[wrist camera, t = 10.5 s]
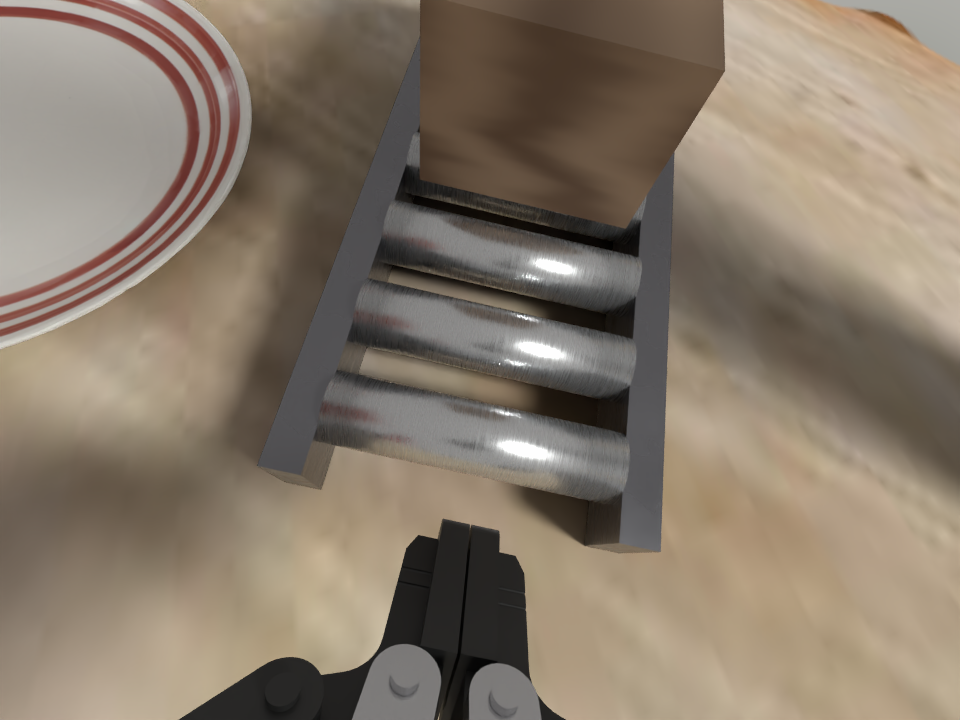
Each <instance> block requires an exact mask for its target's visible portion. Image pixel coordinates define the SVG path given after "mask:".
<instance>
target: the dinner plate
mask: <svg viewBox="0 0 960 720" xmlns="http://www.w3.org/2000/svg"><path fill="white" fill-rule="evenodd" d="M251 125H252V105H251V97H250V91H249V87H248V82H247V80H246V77H245V74H244V71H243V68H242V66H241V64H240V62H239V60H238V58H237V56H236V54H235V53H234V51H233V49H232V48H231V46H230V44H229V43H228V42H227V40H226V39H225V38H224V36H223V35H222V34H221V33H220V32H219V31H218V30H217V28H216V27H215V26H214V25H213V24H212V23H211V22H210V21H208V20H207V19H206V18H205V17H204V16H203V15H202V14H201V13H200V12H199V11H197V10H196V9H195V8H193V7H192V6H191V5H189V4H188V3H187V2H185V1H184V0H0V349H3V348H6V347H9V346H12V345H15V344H18V343H21V342H24V341H26V340H29V339H31V338H34V337H36V336H39V335H41V334H44V333H46V332H49V331H52V330H54V329H56V328H58V327H60V326H62V325H65V324H67V323H69V322H71V321H73V320H75V319H77V318H79V317H81V316H83V315H85V314H87V313H89V312H91V311H93V310H95V309H97V308H99V307H101V306H103V305H104V304H106V303H107V302H109V301H110V300H112V299H113V298H115V297H117V296H118V295H120V294H122V293H123V292H125V291H126V290H127V289H129V288H131V287H133V286H135V285H136V284H138V283H139V282H141V281H142V280H143V279H145V278H146V277H147V276H149V275H150V274H151V273H153V272H154V271H155V270H157V269H158V268H159V267H161V266H162V265H163V264H164V263H166V262H167V261H168V260H169V259H170V258H171V257H173V256H174V255H175V254H176V253H177V252H179V251H180V250H181V249H182V248H183V247H184V246H185V245H186V244H188V243H189V242H190V241H191V240H192V238H194V236H195V235H196V234H197V233H198V232H200V231H201V229H202V228H203V227H204V226H205V225H206V224H207V222H208V221H209V220H210V218H211V217H212V216H213V215H214V214H215V212H216V211H217V210H218V209H219V207H220V206H221V205H222V203H223V202H224V201H225V199H226V197H227V196H228V194H229V192H230V191H231V189H232V187H233V185H234V183H235V181H236V179H237V177H238V174H239V172H240V170H241V168H242V164H243V161H244V158H245V156H246V153H247V150H248V145H249V141H250V135H251Z"/></svg>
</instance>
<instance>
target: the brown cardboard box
mask: <svg viewBox="0 0 960 720" xmlns="http://www.w3.org/2000/svg"><path fill="white" fill-rule="evenodd" d="M724 72H725V52H724V14H723V0H420V180H423V181H427V182H432V183H436V184H440V185H444V186H448V187H453V188H457V189H461V190H465V191H469V192H474V193H478V194H482V195H486V196H490V197H495V198H499V199H503V200H507V201H511V202H516V203H520V204H524V205H528V206H532V207H537V208H541V209H545V210H549V211H553V212H558V213H562V214H566V215H570V216H574V217H579V218H583V219H587V220H591V221H595V222H600V223H604V224H608V225H612V226H616V227H621V228H625V229H626V227H627V226H628V224H629V222H630V221H631V219H632V218H633V216H634V215H635V213H636V211H637V210H638V208H639V207H640V205H641V203H642V202H643V200H644V199H645V197H646V195H647V194H648V192H649V191H650V189H651V188H652V186H653V184H654V183H655V181H656V180H657V178H658V176H659V175H660V173H661V172H662V170H663V168H664V167H665V165H666V164H667V162H668V161H669V159H670V157H671V156H672V154H673V153H674V151H675V149H676V148H677V146H678V145H679V143H680V142H681V140H682V138H683V137H684V135H685V134H686V132H687V130H688V129H689V127H690V126H691V124H692V122H693V121H694V119H695V118H696V116H697V115H698V113H699V111H700V110H701V108H702V107H703V105H704V103H705V102H706V100H707V99H708V97H709V95H710V94H711V92H712V91H713V89H714V88H715V86H716V84H717V83H718V81H719V80H720V78H721V76H722V75H723V73H724Z"/></svg>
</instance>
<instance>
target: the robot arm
mask: <svg viewBox="0 0 960 720" xmlns="http://www.w3.org/2000/svg"><path fill="white" fill-rule="evenodd" d="M499 539H500V534H499V531H498V530H493V529H489V528H484V527H479V526H475V525H471V528H470V524H465V523H460V522H456V521H451V520H447V519H443V520H442V523H441V527H440V531H439V535H438V539H434V538H429V537H425V536H420V535H418V536H417V537H416V538H415V539H414V541H413V542H412V543H411V544H410V545H409V546H408V547H407V548H406V552H405V556H404V559H403V563H402V567H401V571H400V575H399V578H398V582H397V586H396V590H395V594H394V597H393V601H392V605H391V609H390V613H389V616H388V620H387V624H386V628H385V632H384V635H383V639H382V642H381V645H380V647H379V648H378V650H377V652H376V653H375V654H374V656H373V657H372V658H371V659H370V660H369V661H367V662H366V663H364V664H363V665H361V666H359V667H358V668H355V669H353V670H350V671H346V672H340V673H333V674H326V675H321V674H320V673H319V671H318V670H317V668H316V667H315V666H314V665H312V664H311V663H310V662H308V661H306V660H304V659H300V658H295V657H286V658H280V659H276V660H273V661H271V662H269V663H267V664H265V665H263V666H262V667H260V668H259V669H257V670H255V671H254V672H252V673H251V674H249V675H248V676H246V677H245V678H243V679H241V680H240V681H238V682H237V683H235V684H234V685H232V686H231V687H229V688H227V689H226V690H224V691H223V692H221V693H220V694H218V695H217V696H215V697H213V698H212V699H210V700H209V701H207V702H206V703H204V704H202V705H201V706H199V707H198V708H196V709H195V710H193V711H192V712H190V713H188V714H187V715H185V716H184V717H182V718H181V719H179V720H437V719H438V716H439V720H565V719H564V718H562V717H560V716H559V715H557V714H556V713H554V712H553V711H552V710H551V709H549V708H548V707H547V706H546V705H545V704H544V703H543V701H542V700H541V699H540V697H539V696H538V695H537V693H536V690H535V688H534V687H533V685H532V682H531V679H530V674H529V662H528V641H527V621H526V611H525V609H526V600H525V580H524V572H523V570H522V568H521V566H520V564H519V562H518V560H517V558H516V556H513V555H509V554H504V553H499ZM439 713H440V715H439Z"/></svg>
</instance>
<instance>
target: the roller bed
mask: <svg viewBox="0 0 960 720" xmlns="http://www.w3.org/2000/svg"><path fill="white" fill-rule="evenodd" d="M673 177H674V153H673V154H672V156H671V157H670V159H669V161H668V162H667V164H666V165H665V167H664V168H663V170H662V172H661V173H660V175H659V176H658V178H657V180H656V181H655V183H654V184H653V186H652V188H651V189H650V191H649V192H648V194H647V195H646V197H645V199H644V200H643V202H642V203H641V205H640V207H639V208H638V210H637V211H636V213H635V215H634V216H633V218H632V219H631V221H630V222H629V224H628V226H627V227H626V229H625V228H621V227H616V226H612V225H608V224H604V223H600V222H595V221H591V220H587V219H583V218H579V217H574V216H570V215H566V214H562V213H558V212H553V211H549V210H545V209H541V208H537V207H532V206H528V205H524V204H520V203H516V202H511V201H507V200H503V199H499V198H495V197H490V196H486V195H482V194H478V193H474V192H469V191H465V190H461V189H457V188H453V187H448V186H444V185H440V184H436V183H432V182H427V181H423V180H420V37H419V40H418V43H417V45H416V48H415V51H414V53H413V56H412V58H411V61H410V64H409V66H408V69H407V72H406V74H405V77H404V80H403V82H402V85H401V87H400V90H399V93H398V95H397V98H396V101H395V103H394V106H393V109H392V111H391V114H390V116H389V119H388V122H387V124H386V127H385V130H384V132H383V135H382V138H381V140H380V143H379V145H378V148H377V151H376V153H375V156H374V159H373V161H372V164H371V167H370V169H369V172H368V174H367V177H366V180H365V182H364V185H363V188H362V190H361V193H360V196H359V198H358V201H357V203H356V206H355V209H354V211H353V214H352V217H351V219H350V222H349V225H348V227H347V230H346V232H345V235H344V238H343V240H342V243H341V246H340V248H339V251H338V254H337V256H336V259H335V261H334V264H333V267H332V269H331V272H330V275H329V277H328V280H327V283H326V285H325V288H324V290H323V293H322V296H321V298H320V301H319V304H318V306H317V309H316V312H315V314H314V317H313V320H312V322H311V325H310V327H309V330H308V333H307V335H306V338H305V341H304V343H303V346H302V349H301V351H300V354H299V356H298V359H297V362H296V364H295V367H294V370H293V372H292V375H291V378H290V380H289V383H288V385H287V388H286V391H285V393H284V396H283V399H282V401H281V404H280V407H279V409H278V412H277V414H276V417H275V420H274V422H273V425H272V428H271V430H270V433H269V436H268V438H267V441H266V443H265V446H264V449H263V451H262V454H261V457H260V459H259V462H258V465H257V466H258V467H260V468H262V469H263V470H265V471H267V472H268V473H270V474H272V475H274V476H275V477H277V478H279V479H281V480H282V481H284V482H287V483H292V484H296V485H301V486H306V487H310V488H315V489H320V490H321V489H322V485H323V482H324V479H325V476H326V473H327V470H328V467H329V463H330V460H331V457H332V454H333V451H334V448H335V446H340V447H344V448H349V449H353V450H358V451H363V452H367V453H372V454H377V455H381V456H386V457H390V458H395V459H400V460H404V461H409V462H414V463H418V464H423V465H427V466H432V467H437V468H441V469H446V470H451V471H455V472H460V473H464V474H469V475H474V476H478V477H483V478H488V479H492V480H497V481H501V482H506V483H511V484H515V485H520V486H525V487H529V488H534V489H538V490H543V491H548V492H552V493H557V494H562V495H566V496H571V497H575V498H580V499H585V500H589V506H588V517H587V527H586V538H585V546H588V547H592V548H597V549H602V550H607V551H611V552H616V553H642V552H661V523H662V494H663V466H664V437H665V408H666V379H667V350H668V321H669V292H670V264H671V235H672V206H673ZM415 195H418V196H422V197H426V198H431V199H435V200H439V201H443V202H447V203H452V204H456V205H460V206H464V207H469V208H473V209H477V210H481V211H485V212H490V213H494V214H498V215H502V216H507V217H511V218H515V219H519V220H523V221H528V222H532V223H536V224H540V225H545V226H549V227H553V228H557V229H561V230H566V231H570V232H574V233H578V234H583V235H587V236H591V237H595V238H599V239H604V240H608V241H612V242H614V243H613V251H610V250H606V249H602V248H598V247H593V246H589V245H585V244H581V243H576V242H572V241H568V240H564V239H559V238H555V237H551V236H547V235H542V234H538V233H534V232H530V231H526V230H521V229H517V228H513V227H509V226H504V225H500V224H496V223H492V222H487V221H483V220H479V219H475V218H470V217H466V216H462V215H458V214H454V213H449V212H445V211H441V210H437V209H432V208H428V207H424V206H420V205H415V204H412V203H413V200H414V196H415ZM393 265H397V266H401V267H406V268H410V269H414V270H419V271H423V272H427V273H431V274H436V275H440V276H444V277H449V278H453V279H457V280H462V281H466V282H470V283H475V284H479V285H483V286H488V287H492V288H496V289H501V290H505V291H509V292H514V293H518V294H522V295H527V296H531V297H535V298H540V299H544V300H548V301H553V302H557V303H561V304H566V305H570V306H574V307H579V308H583V309H587V310H592V311H596V312H600V313H605V314H607V316H606V327H605V332H602V331H597V330H593V329H589V328H584V327H580V326H576V325H571V324H567V323H563V322H558V321H554V320H550V319H545V318H541V317H536V316H532V315H528V314H523V313H519V312H515V311H510V310H506V309H502V308H497V307H493V306H489V305H484V304H480V303H475V302H471V301H467V300H462V299H458V298H454V297H449V296H445V295H441V294H436V293H432V292H428V291H423V290H419V289H415V288H410V287H406V286H401V285H397V284H393V283H388V282H387V281H388V278H389V275H390V272H391V269H392V266H393ZM366 347H370V348H374V349H379V350H383V351H388V352H392V353H396V354H401V355H405V356H410V357H414V358H419V359H423V360H428V361H432V362H437V363H441V364H445V365H450V366H454V367H459V368H463V369H468V370H472V371H477V372H481V373H486V374H490V375H495V376H499V377H503V378H508V379H512V380H517V381H521V382H526V383H530V384H535V385H539V386H544V387H548V388H552V389H557V390H561V391H566V392H570V393H575V394H579V395H584V396H588V397H593V398H597V399H599V401H598V411H597V422H596V427H593V426H589V425H584V424H580V423H575V422H571V421H566V420H562V419H557V418H553V417H548V416H544V415H539V414H535V413H530V412H526V411H521V410H517V409H512V408H508V407H503V406H499V405H494V404H490V403H485V402H481V401H476V400H472V399H467V398H463V397H458V396H454V395H449V394H445V393H440V392H436V391H431V390H427V389H422V388H418V387H413V386H409V385H404V384H400V383H395V382H391V381H386V380H382V379H377V378H373V377H368V376H364V375H359V374H358V372H359V369H360V366H361V363H362V360H363V357H364V353H365V350H366Z"/></svg>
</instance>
